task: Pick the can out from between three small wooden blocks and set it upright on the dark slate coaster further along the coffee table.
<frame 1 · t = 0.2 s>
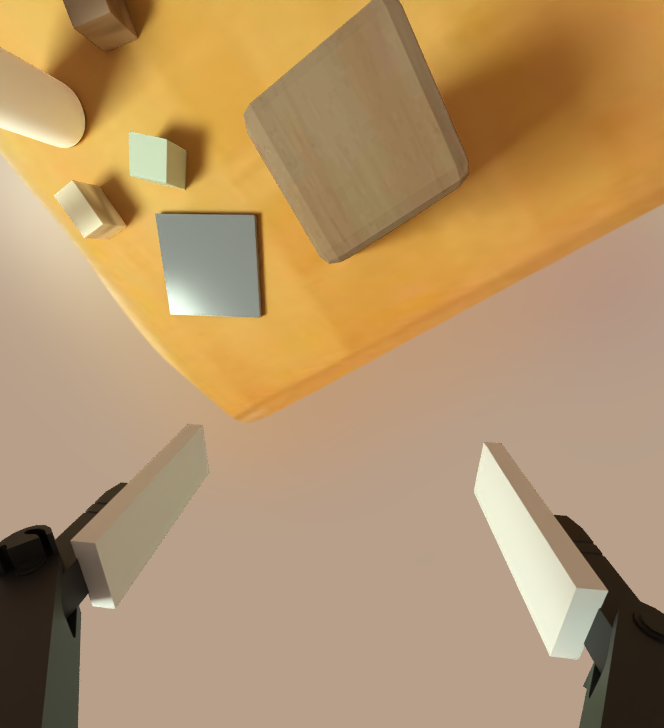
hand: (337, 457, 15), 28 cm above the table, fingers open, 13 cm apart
wooden block: (359, 197, 36), on the table
walnut block: (113, 22, 33), on the table
pale birch block: (105, 213, 39), on the table
can: (62, 116, 36), on the table
slate coaster: (212, 267, 40), on the table
sage painted cube: (169, 167, 37), on the table
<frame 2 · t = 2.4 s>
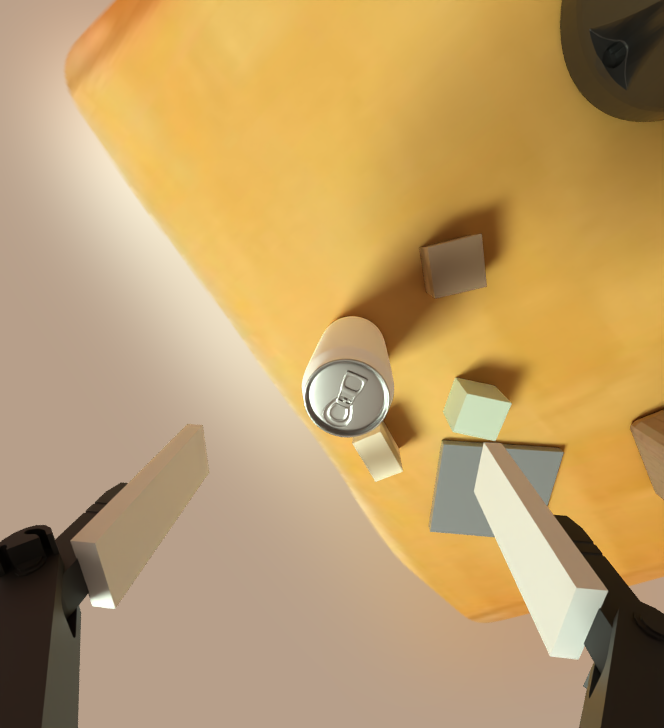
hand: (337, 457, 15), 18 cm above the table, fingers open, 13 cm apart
walnut block: (445, 264, 29), on the table
pale birch block: (376, 435, 35), on the table
can: (352, 346, 32), on the table
slate coaster: (489, 489, 36), on the table
sage painted cube: (468, 398, 33), on the table
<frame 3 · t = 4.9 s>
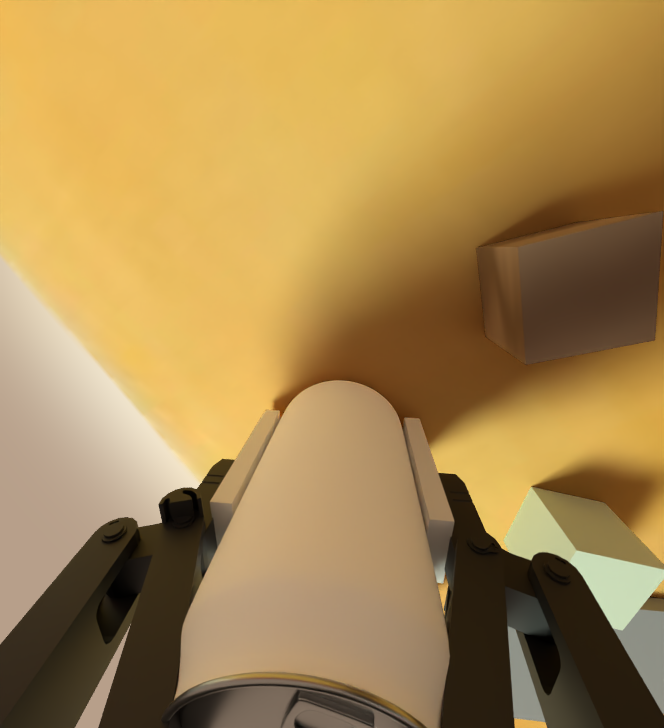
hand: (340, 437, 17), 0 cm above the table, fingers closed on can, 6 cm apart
walnut block: (527, 282, 14), on the table
can: (341, 430, 17), on the table, touching gripper
slate coaster: (574, 656, 21), on the table
sage painted cube: (551, 521, 18), on the table
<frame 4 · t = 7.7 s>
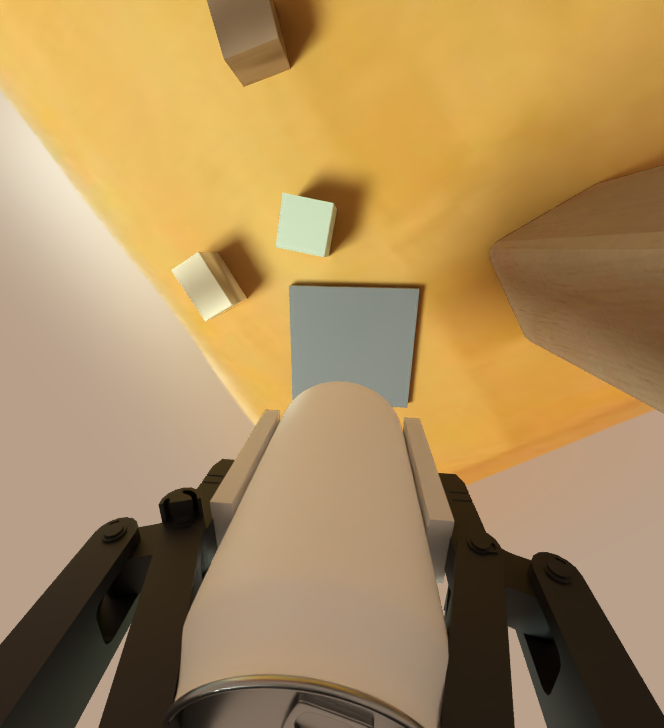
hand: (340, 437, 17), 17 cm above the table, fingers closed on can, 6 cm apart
wooden block: (557, 267, 28), on the table
walnut block: (259, 47, 25), on the table
pale birch block: (221, 283, 31), on the table
can: (341, 431, 17), point 16 cm above the table, touching gripper
slate coaster: (351, 347, 32), on the table
sage painted cube: (311, 228, 29), on the table
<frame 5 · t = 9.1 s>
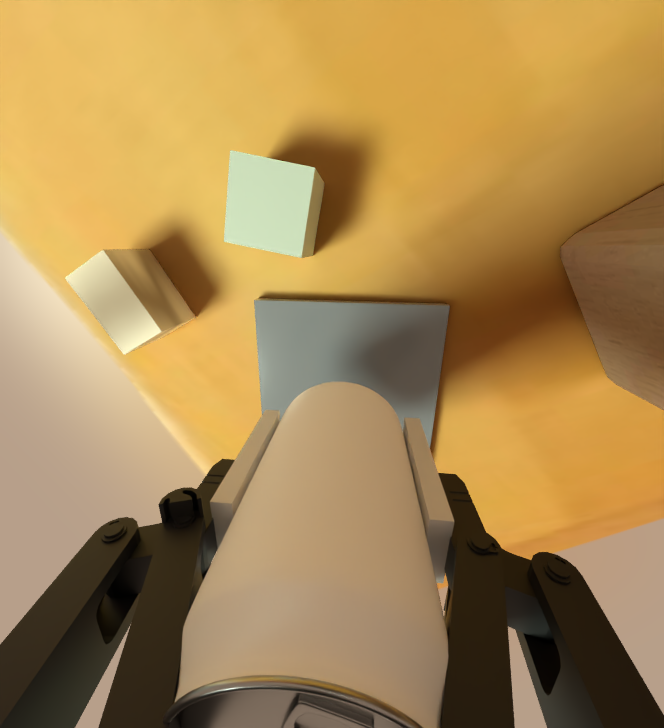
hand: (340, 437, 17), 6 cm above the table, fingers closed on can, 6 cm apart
wooden block: (663, 274, 18), on the table
pale birch block: (157, 295, 22), on the table
can: (341, 431, 17), point 5 cm above the table, touching gripper
slate coaster: (347, 387, 22), on the table
sage painted cube: (286, 214, 19), on the table
when the fingers open (3 cm above the table, at t = 10.4 s): can drops 1 cm, resting on slate coaster.
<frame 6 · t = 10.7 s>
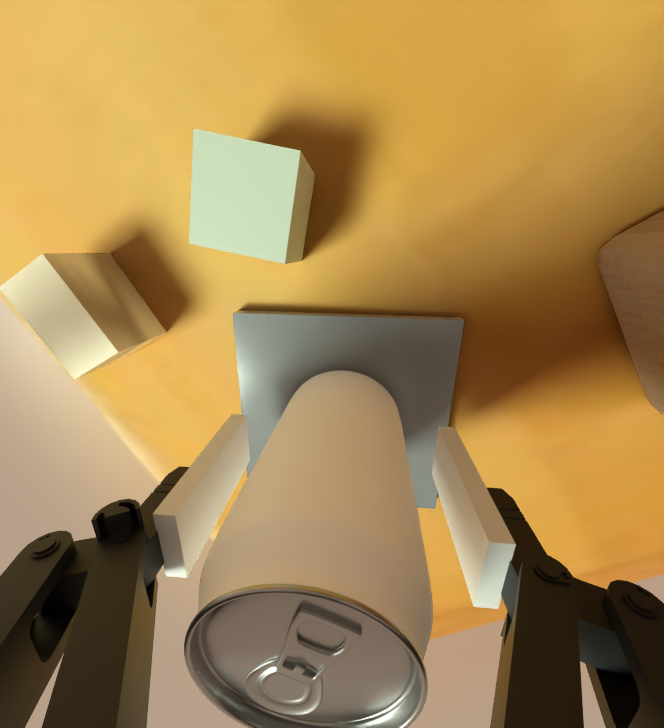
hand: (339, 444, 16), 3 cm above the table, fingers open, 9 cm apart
pale birch block: (121, 306, 18), on the table
can: (343, 418, 19), point 1 cm above the table, touching slate coaster
slate coaster: (343, 412, 19), on the table
sage painted cube: (269, 211, 16), on the table
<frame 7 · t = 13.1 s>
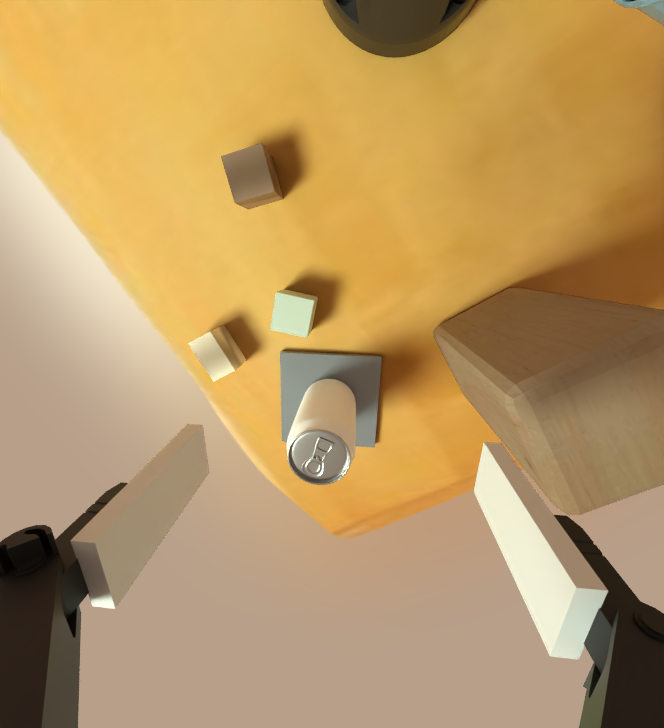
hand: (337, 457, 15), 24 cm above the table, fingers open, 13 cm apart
wooden block: (486, 343, 37), on the table
walnut block: (260, 183, 34), on the table
pale birch block: (225, 348, 39), on the table
can: (329, 401, 40), point 1 cm above the table, touching slate coaster
slate coaster: (329, 399, 40), on the table
sage painted cube: (298, 309, 37), on the table
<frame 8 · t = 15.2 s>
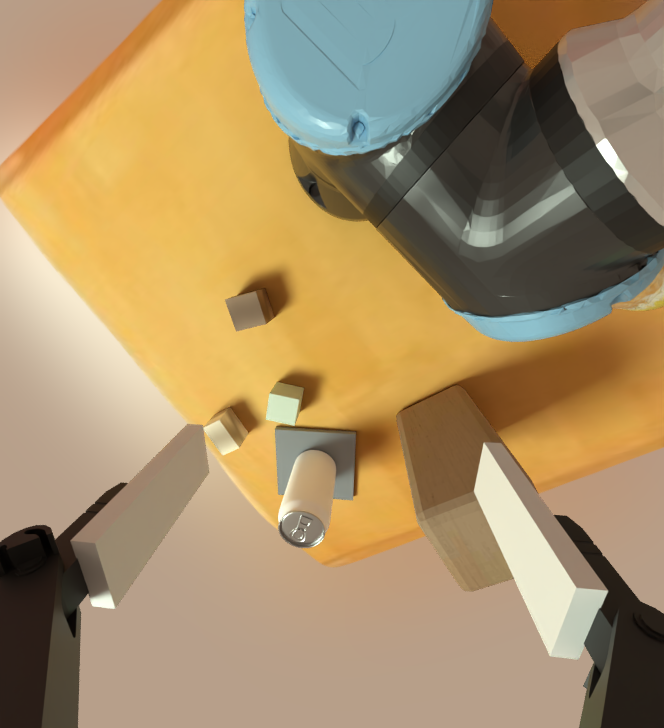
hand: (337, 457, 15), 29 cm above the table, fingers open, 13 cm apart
wooden block: (440, 423, 46), on the table
walnut block: (256, 306, 43), on the table
pale birch block: (231, 423, 49), on the table
fruit: (598, 256, 37), on the table
can: (315, 465, 49), point 1 cm above the table, touching slate coaster
slate coaster: (315, 462, 50), on the table
sage painted cube: (288, 396, 47), on the table
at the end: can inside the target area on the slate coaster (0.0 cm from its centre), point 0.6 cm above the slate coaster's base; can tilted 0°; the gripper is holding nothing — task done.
